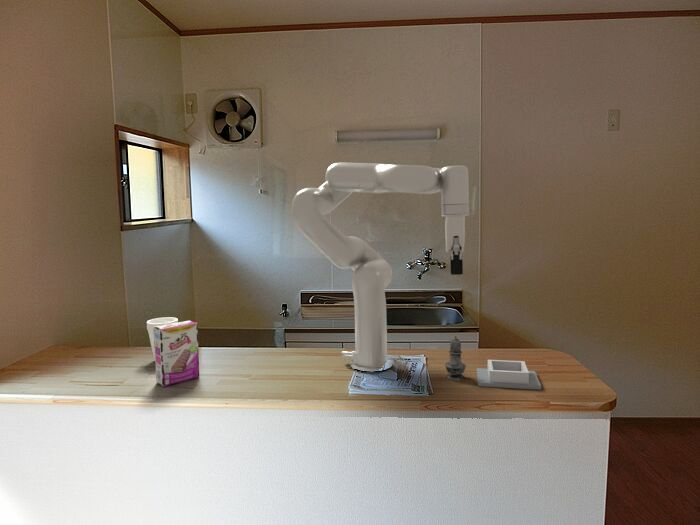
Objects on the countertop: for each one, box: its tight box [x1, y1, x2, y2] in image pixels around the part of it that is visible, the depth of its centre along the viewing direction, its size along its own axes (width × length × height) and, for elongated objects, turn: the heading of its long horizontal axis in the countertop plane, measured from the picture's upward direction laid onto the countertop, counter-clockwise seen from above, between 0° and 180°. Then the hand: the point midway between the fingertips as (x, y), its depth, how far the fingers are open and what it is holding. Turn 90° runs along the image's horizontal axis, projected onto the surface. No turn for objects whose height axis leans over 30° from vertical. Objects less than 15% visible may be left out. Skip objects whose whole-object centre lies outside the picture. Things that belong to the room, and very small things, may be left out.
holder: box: [476, 359, 542, 390], centre depth 141 cm, size 16×12×4 cm
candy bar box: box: [154, 320, 200, 388], centre depth 145 cm, size 11×5×16 cm, turn 134°
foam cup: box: [146, 316, 179, 361], centre depth 165 cm, size 10×9×13 cm
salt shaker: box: [444, 335, 467, 382], centre depth 143 cm, size 6×6×12 cm
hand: (456, 272), depth 144 cm, fingers open, 9 cm apart
